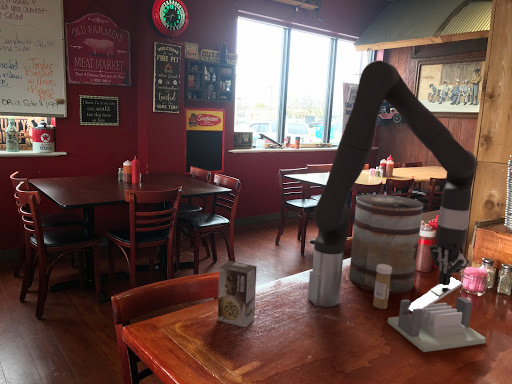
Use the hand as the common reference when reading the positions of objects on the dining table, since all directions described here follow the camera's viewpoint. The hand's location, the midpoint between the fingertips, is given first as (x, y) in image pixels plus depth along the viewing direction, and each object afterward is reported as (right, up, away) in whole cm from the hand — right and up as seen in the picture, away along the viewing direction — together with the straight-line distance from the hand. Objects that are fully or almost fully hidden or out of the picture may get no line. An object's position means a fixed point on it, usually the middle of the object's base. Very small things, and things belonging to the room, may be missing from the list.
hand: (444, 284), depth 119 cm
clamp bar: (-3, -3, 0) cm, 4 cm away
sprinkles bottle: (-13, -11, +18) cm, 24 cm away
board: (-2, -14, +2) cm, 14 cm away
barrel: (-7, -7, +38) cm, 39 cm away
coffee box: (-58, -11, +4) cm, 59 cm away
